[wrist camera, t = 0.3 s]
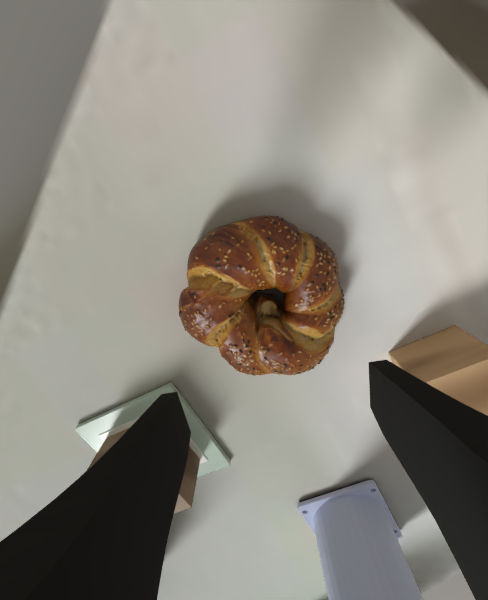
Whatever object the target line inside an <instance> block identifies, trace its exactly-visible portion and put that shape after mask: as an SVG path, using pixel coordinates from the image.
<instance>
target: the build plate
mask: <svg viewBox="0 0 488 600" xmlns="http://www.w3.org/2000/svg"><path fill="white" fill-rule="evenodd" d="M172 392H177V393H178V396H179V399H180V402H181V405H182V408H183V410H184V413H185V416H186V419H187V422H188V425H189V428H190V431H191V436H190V445H189V446H190V447H191V448H192V450H193V451H194V452H195V453H196V455H197V456H198V457H199V458H200V464H199V469H198V475H197V477H200V476H203V475H205V474H208V473H211V472H213V471H216V470H219V469H221V468H224V467H227V466H229V465H230V464H231V460H230V458H229V457H228V456H227V455H226V453H225V452H224V451H223V449H222V448H221V447H220V445H219V444H218V443H217V441H216V440H215V439H214V437H213V436H212V435H211V433H210V432H209V431H208V429H207V428H206V427H205V426H204V424H203V423H202V422H201V420H200V419H199V418H198V416H197V415H196V414H195V412H194V411H193V410H192V408H191V407H190V406H189V404H188V403H187V402H186V400H185V399H184V398H183V396H182V395H181V394H180V393H179V391H178V390H177V389H176V387H175V386H174V385H173V383H172V382H170V383H168V384H166V385H164V386H162V387H159V388H157V389H155V390H153V391H151V392H148V393H146V394H144V395H142V396H140V397H137V398H135V399H133V400H131V401H129V402H127V403H124V404H122V405H120V406H118V407H116V408H113V409H111V410H109V411H107V412H105V413H102V414H100V415H98V416H96V417H94V418H92V419H89V420H87V421H85V422H83V423H81V424H78V425H77V427H76V428H75V430H76V431H77V432H78V433H79V435H80V436H81V437H82V438H83V439H84V440H85V441H86V442H87V443H88V444H89V445H90V446H91V447H92V448H93V449H94V450H95V451H96V452H97V453H98V451H99V449H100V448H101V446H102V444H103V443H104V441H105V439H106V438H107V437H109V436H112V435H114V434H116V433H118V432H121V431H123V430H125V429H128V428H130V427H131V426H132V425H133V424H134V423H135V422H136V421H137V420H138V419H139V418H140V416H141V415H142V414H143V413H144V412H145V411H146V410H147V409H148V408H149V407H150V406H151V405H152V403H153V402H154V401H155V400H156V399H157V398H158V397H159V396H160V395H161V394H165V393H172Z"/></svg>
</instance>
